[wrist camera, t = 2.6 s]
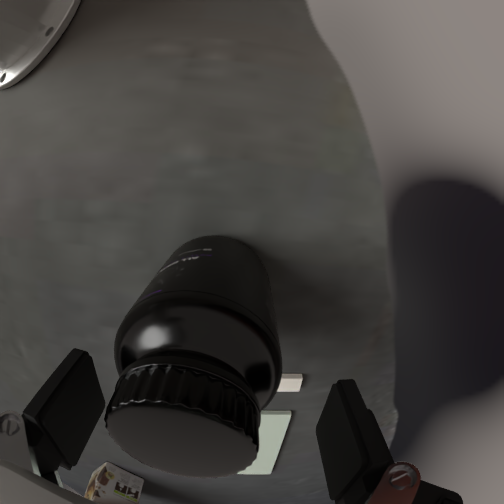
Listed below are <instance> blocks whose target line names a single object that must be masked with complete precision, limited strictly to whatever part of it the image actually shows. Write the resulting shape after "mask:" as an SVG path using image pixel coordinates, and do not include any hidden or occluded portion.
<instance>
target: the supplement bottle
mask: <svg viewBox="0 0 504 504" xmlns="http://www.w3.org/2000/svg"><path fill="white" fill-rule="evenodd" d="M114 358H115V364H116V368H117V371H118V374H119V377H120V378H119V380H118V382H117V384H116V387H115V392H114V394H113V396H112V398H111V400H110V402H109V404H108V406H107V409H106V414H105V418H104V420H105V422H106V426H105V427H106V429H107V430H108V431H109V435H110V436H111V437H112V438H113V439H114V442H115V443H116V444H117V445H119V446H120V447H121V449H122V450H123V451H125V452H126V453H128V454H129V455H130V456H131V457H133V458H135V459H137V460H139V461H140V462H141V463H144V464H146V465H149V466H150V467H152V468H155V469H158V470H161V471H163V472H166V473H171V474H174V475H178V476H185V477H190V478H217V477H226V476H228V475H232V474H237V473H238V472H240V471H243V470H245V469H246V468H247V467H248V466H251V465H252V463H253V461H254V460H256V459H257V453H258V452H259V427H260V423H261V411H262V410H264V409H265V408H266V407H267V405H268V404H269V403H270V402H271V400H272V399H273V397H274V396H275V394H276V392H277V390H278V388H279V385H280V382H281V377H282V357H281V349H280V343H279V336H278V330H277V324H276V318H275V312H274V306H273V300H272V293H271V287H270V283H269V278H268V274H267V272H266V269H265V267H264V265H263V263H262V262H261V260H260V259H259V257H258V256H257V255H256V254H255V253H254V252H253V251H252V250H251V249H250V248H248V247H247V246H246V245H244V244H242V243H241V242H238V241H236V240H234V239H231V238H227V237H222V236H204V237H199V238H196V239H193V240H191V241H189V242H187V243H185V244H183V245H182V246H181V247H180V248H178V249H177V250H176V251H175V252H174V253H173V254H172V255H171V257H170V258H169V259H168V260H167V261H166V263H165V264H164V265H163V267H162V268H161V269H160V270H159V272H158V273H157V274H156V276H155V277H154V278H153V280H152V281H151V282H150V284H149V285H148V286H147V288H146V289H145V290H144V292H143V293H142V294H141V296H140V297H139V298H138V300H137V301H136V302H135V304H134V305H133V307H132V308H131V309H130V311H129V312H128V313H127V315H126V316H125V318H124V320H123V321H122V323H121V325H120V327H119V329H118V331H117V334H116V338H115V344H114Z"/></svg>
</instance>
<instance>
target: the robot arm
mask: <svg viewBox="0 0 504 504" xmlns="http://www.w3.org/2000/svg"><path fill="white" fill-rule="evenodd" d="M80 1H81V0H0V90H3V89H5V88H8V87H11V86H12V85H14V84H16V83H17V82H19V81H20V80H21V79H22V78H24V77H25V76H26V75H27V74H29V73H30V72H31V71H32V70H33V69H34V68H35V67H36V66H37V65H38V64H39V63H40V62H41V60H42V59H43V58H44V57H45V56H46V55H47V54H48V53H49V51H50V50H51V49H52V47H53V46H54V45H55V44H56V42H57V41H58V40H59V38H60V37H61V35H62V34H63V32H64V31H65V29H66V28H67V26H68V25H69V23H70V21H71V20H72V18H73V16H74V14H75V12H76V10H77V8H78V6H79V4H80ZM104 408H105V400H104V397H103V394H102V391H101V387H100V384H99V381H98V378H97V374H96V371H95V367H94V363H93V360H92V357H91V356H89V353H88V352H86V351H83V350H79V349H76V348H75V349H73V350H72V351H71V352H70V353H69V354H68V355H67V357H66V358H65V359H64V360H63V361H62V363H61V364H60V365H59V366H58V367H57V369H56V370H55V371H54V372H53V374H52V375H51V376H50V377H49V379H48V380H47V381H46V382H45V384H44V385H43V386H42V387H41V389H40V390H39V391H38V392H37V394H36V395H35V396H34V398H33V399H32V400H31V402H30V403H29V404H28V405H27V407H26V408H25V409H24V411H23V414H22V416H21V415H20V414H19V413H17V412H15V411H5V412H2V413H1V414H0V504H99V503H97V502H94V501H92V500H89V499H87V498H84V497H82V496H80V495H77V494H75V493H73V492H71V491H68V490H66V489H64V488H63V485H62V483H61V480H60V477H59V474H58V471H57V469H58V467H59V466H61V467H63V468H66V469H68V470H71V468H72V466H75V465H76V464H77V462H78V460H79V458H80V456H81V454H82V452H83V450H84V448H85V446H86V444H87V442H88V440H89V438H90V436H91V434H92V432H93V430H94V428H95V426H96V424H97V422H98V420H99V418H100V416H101V414H102V412H103V410H104ZM316 435H317V440H318V444H319V449H320V453H321V458H322V463H323V467H324V472H325V477H326V481H327V486H328V491H329V496H330V499H331V500H335V504H463V500H462V498H461V496H460V495H459V494H458V493H456V492H454V491H450V490H447V489H444V488H441V487H438V486H436V485H433V484H430V483H427V482H425V481H422V480H421V475H420V472H419V470H418V468H417V467H416V466H414V465H413V464H411V463H408V462H396V463H394V461H393V459H392V456H391V454H390V451H389V449H388V446H387V444H386V442H385V439H384V437H383V435H382V432H381V430H380V428H379V425H378V423H377V421H376V419H375V416H374V414H373V412H372V411H371V410H370V409H367V408H366V405H365V403H364V401H363V398H362V396H361V394H360V392H359V389H358V387H357V385H356V383H355V381H354V380H353V379H347V380H338V381H337V383H336V384H333V385H332V388H331V391H330V393H329V396H328V399H327V401H326V404H325V406H324V409H323V411H322V414H321V416H320V419H319V421H318V424H317V426H316Z"/></svg>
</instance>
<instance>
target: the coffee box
mask: <svg viewBox="0 0 504 504" xmlns="http://www.w3.org/2000/svg"><path fill="white" fill-rule="evenodd" d="M143 483H144V479H142V478H140V477H138V476H135V475H133V474H131V473H129V472H127V471H125V470H123V469H121V468H119V467H117V466H115V465H113V464H112V463H110V462H106V463H104V464H103V465H102V466H100V467H99V468H98V469H96V470H95V471H94V472H93V473H92V476H91V479H90V481H89V484H88V487H87V490H86V493H85V496H84V498H87V499H89V500H92V501H94V502H97V503H99V504H138V503H139V499H140V494H141V490H142V486H143Z"/></svg>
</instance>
